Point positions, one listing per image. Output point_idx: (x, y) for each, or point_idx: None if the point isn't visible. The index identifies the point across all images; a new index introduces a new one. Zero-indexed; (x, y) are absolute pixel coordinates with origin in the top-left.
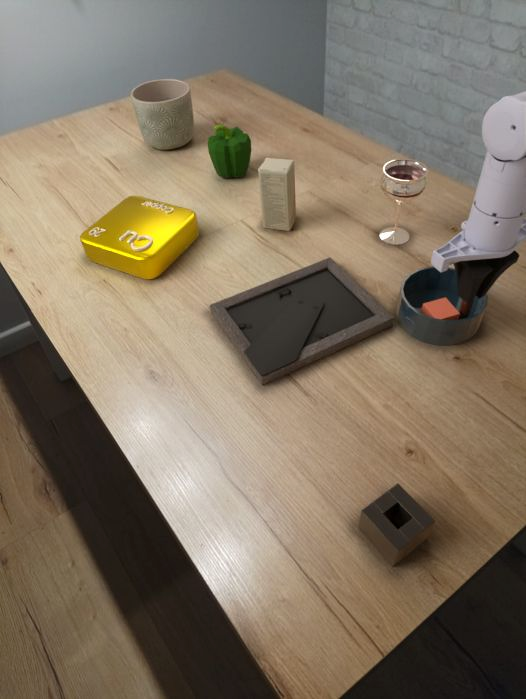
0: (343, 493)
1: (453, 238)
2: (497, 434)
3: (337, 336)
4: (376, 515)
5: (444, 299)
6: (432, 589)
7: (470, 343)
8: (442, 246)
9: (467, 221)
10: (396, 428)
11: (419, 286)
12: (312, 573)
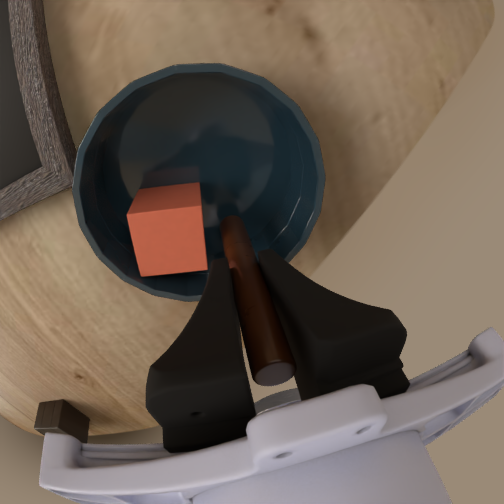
0: (24, 384)
1: (131, 494)
2: None
3: None
4: (44, 433)
5: (193, 213)
6: (90, 431)
7: None
8: (72, 492)
9: (318, 440)
10: (66, 355)
11: (191, 76)
12: (18, 408)
